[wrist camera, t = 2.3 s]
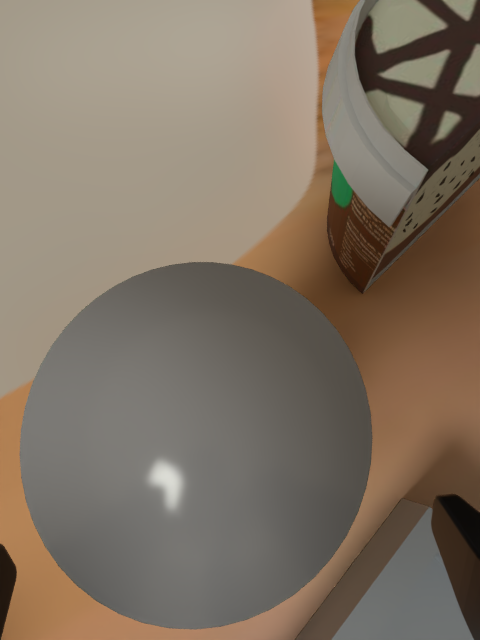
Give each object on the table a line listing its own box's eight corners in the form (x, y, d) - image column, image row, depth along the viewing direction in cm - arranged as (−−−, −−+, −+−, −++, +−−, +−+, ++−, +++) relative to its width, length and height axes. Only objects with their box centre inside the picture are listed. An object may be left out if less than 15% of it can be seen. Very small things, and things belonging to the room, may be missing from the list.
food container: (407, 95, 24) (503, -148, 14) (500, 158, 22) (679, -68, 13) (250, 233, 21) (240, 57, 12) (341, 314, 20) (412, 184, 10)
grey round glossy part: (241, 548, 17) (195, 734, 6) (144, 447, 18) (-49, 433, 7) (331, 438, 18) (446, 410, 7) (233, 351, 20) (191, 206, 8)
